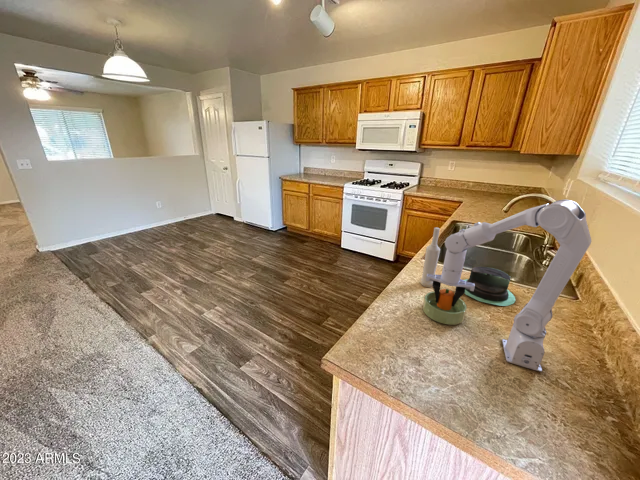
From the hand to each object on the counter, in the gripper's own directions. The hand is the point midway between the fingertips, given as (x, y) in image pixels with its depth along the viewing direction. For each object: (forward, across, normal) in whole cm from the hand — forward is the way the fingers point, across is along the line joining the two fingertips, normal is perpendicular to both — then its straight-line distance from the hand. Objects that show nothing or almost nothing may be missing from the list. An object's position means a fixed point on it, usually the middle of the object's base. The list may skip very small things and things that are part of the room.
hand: (444, 302), depth 91 cm
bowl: (+4, 0, 0) cm, 4 cm away
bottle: (+5, +7, -19) cm, 21 cm away
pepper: (+1, 0, 0) cm, 1 cm away
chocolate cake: (+5, -15, -24) cm, 29 cm away
